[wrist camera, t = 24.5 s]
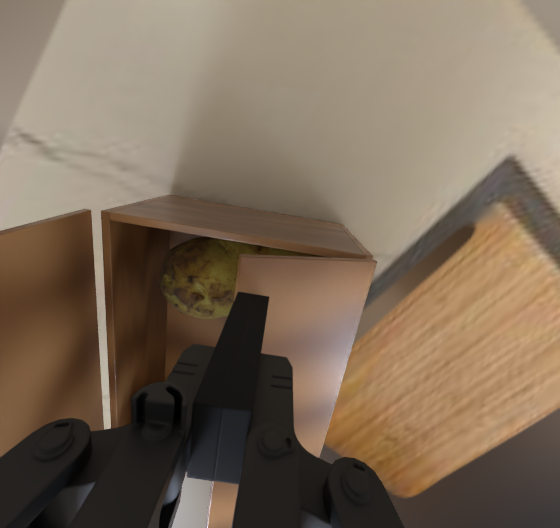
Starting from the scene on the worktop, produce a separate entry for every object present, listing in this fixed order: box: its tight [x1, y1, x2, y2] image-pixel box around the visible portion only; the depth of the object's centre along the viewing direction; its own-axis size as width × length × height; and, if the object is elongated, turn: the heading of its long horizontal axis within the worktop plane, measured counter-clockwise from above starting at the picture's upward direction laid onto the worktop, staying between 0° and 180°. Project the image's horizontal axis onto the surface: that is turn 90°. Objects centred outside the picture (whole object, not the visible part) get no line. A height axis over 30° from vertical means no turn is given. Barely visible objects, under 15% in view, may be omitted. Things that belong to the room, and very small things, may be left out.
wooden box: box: [0, 195, 373, 476], centre depth 21 cm, size 21×17×17 cm
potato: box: [159, 236, 331, 319], centre depth 23 cm, size 8×13×8 cm, turn 71°
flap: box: [206, 254, 377, 528], centre depth 18 cm, size 21×8×1 cm, turn 171°
